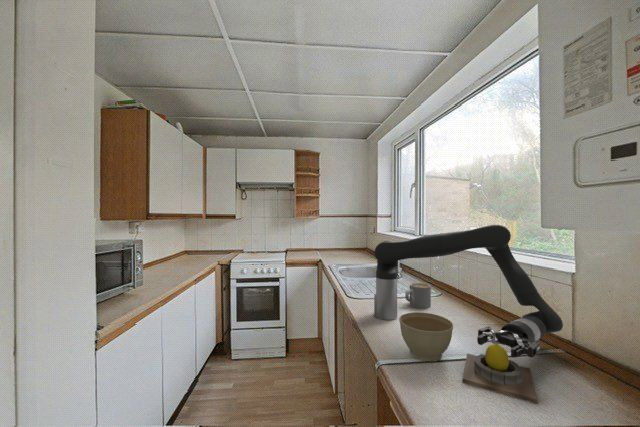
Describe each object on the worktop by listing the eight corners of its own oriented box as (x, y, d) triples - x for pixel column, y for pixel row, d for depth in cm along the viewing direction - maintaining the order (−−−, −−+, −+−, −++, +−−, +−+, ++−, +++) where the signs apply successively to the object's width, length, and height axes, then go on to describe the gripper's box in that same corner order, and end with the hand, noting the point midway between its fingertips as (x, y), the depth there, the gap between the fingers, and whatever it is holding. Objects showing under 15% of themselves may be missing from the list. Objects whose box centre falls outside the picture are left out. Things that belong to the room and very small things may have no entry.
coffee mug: (424, 301, 144) (424, 282, 145) (434, 307, 135) (434, 287, 135) (399, 302, 142) (399, 283, 143) (408, 309, 133) (408, 288, 133)
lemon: (512, 379, 74) (512, 349, 74) (489, 377, 75) (489, 347, 75) (503, 368, 79) (503, 340, 79) (482, 366, 80) (482, 338, 81)
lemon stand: (462, 382, 74) (462, 369, 74) (466, 356, 88) (466, 345, 88) (537, 403, 66) (537, 388, 66) (529, 371, 80) (529, 359, 80)
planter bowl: (389, 347, 94) (389, 315, 94) (427, 340, 100) (427, 309, 100) (422, 372, 79) (422, 334, 79) (465, 362, 85) (465, 326, 85)
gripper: (495, 314, 91) (469, 325, 82) (549, 329, 79) (525, 343, 70) (495, 337, 91) (469, 350, 82) (549, 355, 79) (525, 373, 70)
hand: (495, 347), depth 76 cm, fingers open, 8 cm apart
